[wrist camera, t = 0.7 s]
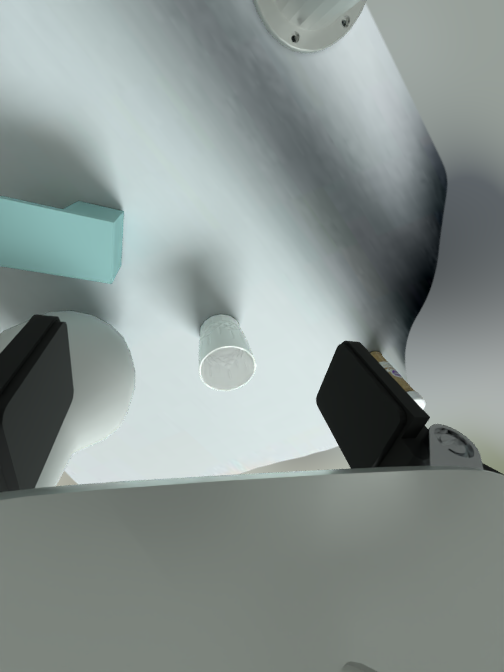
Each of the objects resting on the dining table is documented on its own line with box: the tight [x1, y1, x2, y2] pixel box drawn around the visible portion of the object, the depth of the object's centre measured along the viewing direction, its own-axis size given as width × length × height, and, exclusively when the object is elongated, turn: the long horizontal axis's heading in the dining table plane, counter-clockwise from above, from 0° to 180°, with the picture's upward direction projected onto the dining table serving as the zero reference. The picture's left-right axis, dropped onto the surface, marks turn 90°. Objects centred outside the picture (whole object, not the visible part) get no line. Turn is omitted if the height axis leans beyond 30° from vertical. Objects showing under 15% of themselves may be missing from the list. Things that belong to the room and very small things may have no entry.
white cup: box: [199, 314, 256, 391], centre depth 45 cm, size 8×8×10 cm
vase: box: [0, 311, 135, 488], centre depth 33 cm, size 17×16×28 cm
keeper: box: [0, 196, 124, 284], centre depth 34 cm, size 7×14×6 cm, turn 74°
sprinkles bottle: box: [370, 351, 426, 409], centre depth 54 cm, size 5×5×14 cm
